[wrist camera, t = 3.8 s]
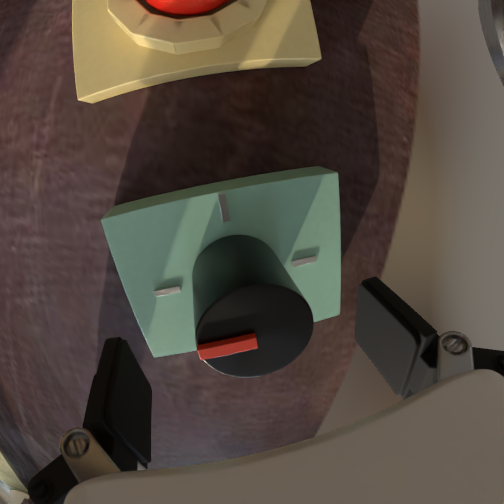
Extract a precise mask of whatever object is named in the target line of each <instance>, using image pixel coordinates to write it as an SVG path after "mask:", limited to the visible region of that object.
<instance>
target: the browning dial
mask: <svg viewBox="0 0 504 504" xmlns="http://www.w3.org/2000/svg"><path fill="white" fill-rule="evenodd" d="M192 289H193V310H194V328H195V342H196V347H197V351H198V354H199V357H200V359H201V360H204V361H205V362H206V363H207V364H208V365H209V366H210V367H211V368H213V369H215V370H216V371H218V372H220V373H223V374H226V375H229V376H234V377H257V376H262V375H266V374H269V373H272V372H275V371H277V370H279V369H281V368H283V367H285V366H286V365H288V364H289V363H291V362H292V361H293V360H295V359H296V358H297V357H298V356H299V355H300V354H301V353H302V351H303V350H304V349H305V347H306V346H307V344H308V342H309V340H310V338H311V335H312V332H313V324H314V320H313V314H312V310H311V308H310V306H309V304H308V302H307V301H306V299H305V298H304V296H303V295H302V293H301V292H300V290H299V289H298V287H297V286H296V284H295V283H294V281H293V280H292V278H291V277H290V275H289V274H288V272H287V271H286V269H285V268H284V266H283V265H282V263H281V262H280V260H279V259H278V257H277V256H276V254H275V253H274V251H273V250H272V249H271V248H270V247H269V246H268V245H267V244H266V243H265V242H263V241H262V240H260V239H258V238H255V237H252V236H248V235H230V236H226V237H222V238H220V239H218V240H216V241H214V242H212V243H211V244H209V245H208V246H207V247H206V248H205V249H204V250H203V251H202V252H201V253H200V254H199V256H198V258H197V259H196V261H195V264H194V267H193V271H192Z"/></svg>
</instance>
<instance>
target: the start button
mask: <svg viewBox="0 0 504 504" xmlns="http://www.w3.org/2000/svg"><path fill="white" fill-rule="evenodd" d="M145 1H146V2H147V4H149V5H150V6H151V7H152V8H154V9H156V10H158V11H160V12H163V13H167V14H171V15H180V16H187V15H196V14H202V13H205V12H209V11H211V10H214V9H216V8H218V7H220V6H222V5H223V4H225V3H226V2H227V1H229V0H145Z"/></svg>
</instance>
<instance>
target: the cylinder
mask: <svg viewBox="0 0 504 504" xmlns="http://www.w3.org/2000/svg"><path fill="white" fill-rule="evenodd" d="M24 498H26V499H29V495H28V494H25V493H23V492H20V491H17V490H13V489H12V490H10V495H9V501H8V504H21V503H22V501H23V500H24Z"/></svg>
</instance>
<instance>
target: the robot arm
mask: <svg viewBox="0 0 504 504" xmlns="http://www.w3.org/2000/svg"><path fill="white" fill-rule="evenodd" d="M503 17H504V15H503ZM355 339H356V341H357V343H358V344H359V346H360V347H361V348H362V350H363V351H364V352H365V354H366V355H367V356H368V357H369V359H370V360H371V361H372V363H373V364H374V365H375V367H376V368H377V369H378V371H379V372H380V373H381V375H382V376H383V378H384V379H385V380H386V382H387V383H388V384H389V386H390V387H391V388H392V390H393V391H394V393H395V394H396V395H400V396H401V397H402V398H403V400H402V401H400V402H398V403H396V404H394V405H392V406H390V407H388V408H386V409H384V410H381V411H379V412H378V413H375V414H373V415H370V416H368V417H366V418H363V419H361V420H359V421H356V422H354V423H351V424H349V425H347V426H344V427H341V428H338V429H336V430H333V431H330V432H328V433H325V434H322V435H319V436H316V437H313V438H310V439H307V440H304V441H301V442H297V443H294V444H291V445H287V446H284V447H280V448H276V449H273V450H269V451H265V452H261V453H256V454H252V455H248V456H243V457H238V458H233V459H228V460H223V461H217V462H211V463H204V464H197V465H190V466H181V467H173V468H163V469H150V470H147V463H149V462H151V407H152V389H151V386H150V384H149V382H148V380H147V379H146V377H145V375H144V373H143V371H142V370H141V368H140V366H139V364H138V362H137V360H136V358H135V356H134V354H133V353H132V351H131V349H130V347H129V345H128V343H127V341H126V340H122V339H121V338H120V337H116V338H110V339H106V341H105V344H104V347H103V351H102V355H101V358H100V362H99V366H98V370H97V374H95V376H94V378H93V382H92V386H91V390H90V394H89V399H88V403H87V408H86V412H85V417H84V422H83V428H79V427H77V428H73V429H71V430H69V431H67V432H66V433H65V434H64V435H63V437H62V438H61V441H60V452H61V455H60V456H59V457H57V458H56V459H55V460H54V461H52V462H51V463H50V464H49V465H47V466H46V467H45V468H44V469H42V470H41V471H40V472H39V473H37V474H36V475H35V476H34V477H33V478H32V479H31V480H30V482H29V484H28V495H29V499H26V498H24V500H23V501H22V503H21V504H504V351H499V350H491V349H482V348H475V347H472V345H471V342H470V340H469V338H468V337H466V336H465V335H464V334H462V333H460V332H456V331H449V332H445V333H444V334H442V335H441V336H439V335H438V334H437V331H436V330H435V329H434V328H433V327H432V326H431V325H430V324H429V323H427V322H426V321H425V320H424V319H423V318H422V317H421V316H420V315H419V314H418V313H417V312H415V311H414V310H413V309H412V308H411V307H410V306H409V305H408V304H407V303H405V302H404V301H403V300H402V299H401V298H400V297H399V296H398V295H397V294H395V293H394V292H393V291H392V290H391V289H390V288H389V287H387V286H386V285H385V284H384V283H383V282H382V281H381V280H379V279H378V278H377V277H372V278H368V279H365V280H363V281H362V282H361V285H359V287H358V301H357V315H356V326H355ZM137 470H138V471H137Z"/></svg>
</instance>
